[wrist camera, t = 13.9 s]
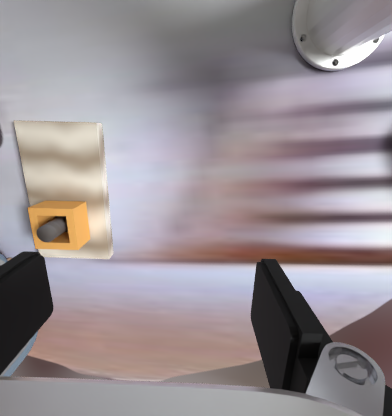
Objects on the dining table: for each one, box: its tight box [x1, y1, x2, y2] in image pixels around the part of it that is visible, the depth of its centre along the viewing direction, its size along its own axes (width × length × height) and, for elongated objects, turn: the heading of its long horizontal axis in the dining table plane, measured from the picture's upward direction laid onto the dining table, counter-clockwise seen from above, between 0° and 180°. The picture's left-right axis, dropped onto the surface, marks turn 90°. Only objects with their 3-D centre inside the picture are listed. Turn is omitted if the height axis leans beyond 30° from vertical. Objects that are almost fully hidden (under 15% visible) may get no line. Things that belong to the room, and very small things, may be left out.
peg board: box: [14, 121, 113, 259], centre depth 34 cm, size 22×12×8 cm, turn 179°
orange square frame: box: [28, 201, 90, 250], centre depth 35 cm, size 6×6×4 cm
